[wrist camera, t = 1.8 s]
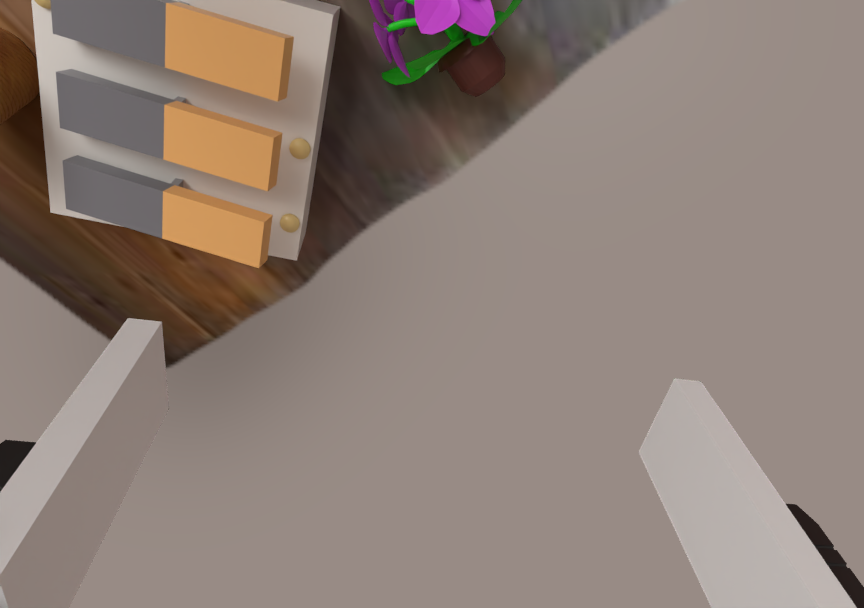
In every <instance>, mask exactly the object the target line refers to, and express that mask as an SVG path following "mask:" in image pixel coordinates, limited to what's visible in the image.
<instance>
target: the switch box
mask: <svg viewBox="0 0 864 608" xmlns="http://www.w3.org/2000/svg"><path fill="white" fill-rule="evenodd" d="M174 1H177V2H180V3H184V4H187V5H190V6H194V7H197V8H200V9H204V10H207V11H210V12H214V13H217V14H220V15H224V16H227V17H230V18H234V19H237V20H240V21H244V22H247V23H250V24H254V25H257V26H260V27H264V28H267V29H270V30H274V31H277V32H280V33H284V34H287V35H290V36H294V42H293V50H292V58H291V67H290V75H289V83H288V92H287V98H285V99H283V100H280V101H278V102H277V101H274V100H271V99H267V98H264V97H261V96H257V95H254V94H251V93H248V92H244V91H241V90H238V89H234V88H231V87H228V86H224V85H221V84H218V83H214V82H211V81H208V80H205V79H201V78H198V77H195V76H191V75H188V74H185V73H181V72H178V71H175V70H171V69H168V68H165V67H162V66H158V65H155V64H152V63H148V62H145V61H142V60H138V59H135V58H132V57H128V56H125V55H122V54H119V53H115V52H112V51H109V50H105V49H102V48H99V47H95V46H92V45H89V44H86V43H82V42H79V41H76V40H72V39H69V38H66V37H62V36H59V35H56V34H53V29H52V15H51V2H50V0H32V11H33V22H34V33H35V45H36V56H37V67H38V78H39V89H40V100H41V111H42V122H43V133H44V144H45V156H46V167H47V178H48V189H49V200H50V211H51V213H55V214H61V215H66V216H71V217H76V218H81V219H86V220H91V221H96V222H101V223H107V224H112V225H117V224H113V223H110V222H107V221H104V220H100V219H97V218H94V217H91V216H88V215H84V214H81V213H78V212H75V211H71V210H68V209H66V201H65V188H64V175H63V162H62V160H65V159H68V158H71V157H73V156H76V155H78V156H82V157H85V158H88V159H91V160H95V161H98V162H101V163H104V164H108V165H111V166H114V167H117V168H121V169H124V170H127V171H131V172H134V173H137V174H140V175H144V176H147V177H150V178H153V179H157V180H160V181H163V182H166V183H170V184H173V185H176V186H179V187H183V188H186V189H189V190H193V191H196V192H199V193H202V194H206V195H209V196H212V197H215V198H219V199H222V200H225V201H228V202H232V203H235V204H238V205H242V206H245V207H248V208H251V209H255V210H258V211H261V212H264V213H268V214H271V215H273V217H272V225H271V233H270V242H269V250H268V255H270V256H275V257H280V258H286V259H291V260H296V261H297V258H298V255H299V252H300V249H301V246H302V243H303V239H304V236H305V233H306V228H307V222H308V215H309V209H310V202H311V196H312V189H313V183H314V176H315V170H316V163H317V157H318V150H319V144H320V137H321V131H322V124H323V118H324V111H325V105H326V98H327V92H328V85H329V79H330V72H331V66H332V59H333V53H334V46H335V40H336V33H337V27H338V20H339V14H340V6H336V5H332V4H329V3H325V2H321V1H318V0H174ZM68 69H74V70H77V71H81V72H84V73H87V74H90V75H94V76H97V77H100V78H104V79H107V80H110V81H114V82H117V83H120V84H123V85H127V86H130V87H133V88H137V89H140V90H143V91H146V92H150V93H153V94H156V95H160V96H163V97H166V98H170V99H173V100H176V101H179V102H183V103H186V104H189V105H193V106H196V107H199V108H202V109H206V110H209V111H212V112H216V113H219V114H222V115H226V116H229V117H232V118H235V119H239V120H242V121H245V122H249V123H252V124H255V125H258V126H262V127H265V128H268V129H272V130H275V131H278V132H282V142H281V150H280V158H279V167H278V175H277V183H276V185H275V186H274V187H273V188H272V189H270V190H269V191H265V190H261V189H258V188H255V187H252V186H248V185H245V184H242V183H239V182H235V181H232V180H229V179H225V178H222V177H219V176H216V175H212V174H209V173H206V172H203V171H199V170H196V169H193V168H189V167H186V166H183V165H180V164H176V163H173V162H170V161H167V160H163V159H160V158H157V157H153V156H150V155H147V154H144V153H140V152H137V151H134V150H131V149H127V148H124V147H121V146H117V145H114V144H111V143H108V142H104V141H101V140H98V139H95V138H91V137H88V136H85V135H81V134H78V133H75V132H72V131H68V130H65V129H62V128H60V122H59V108H58V95H57V82H56V72H57V71H62V70H68ZM117 226H120V225H117ZM122 227H123V226H122Z"/></svg>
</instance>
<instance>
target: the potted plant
mask: <svg viewBox="0 0 864 608" xmlns="http://www.w3.org/2000/svg"><path fill="white" fill-rule="evenodd" d="M404 1H405V2H404ZM521 1H522V0H513V1H512V3H511V4H510V6H509V7H508V8H507V10H506V11H505V12H500V11H497V12H495V13H494V11H493V7H492V4H491V1H490V0H384V5H385V8H386V10H387V11H388V13H390V14H392V15H393V14H394V22H393V21H392V20H391V19H390V18H389V17H388V16H387V15H386V14H385V13H384V12H383V9H382V7H381V4H380V2H379V0H369V2H370V5H371V8H372V10H373V13H374V15H375V17H376V19H377V20H378V22H379V23H380V24H381V25H383V26H386V28H381V27H380V26H379V25H378V24H377V23H376V22H374V24H373V25H374V32H375V34H376V37H377V39H378V41H379V44H380V46H381V48H382V50H383V52H384V54H385V56H386V58H387V60H388V62H389V63H390V64H391V62H392V56H391V52H392V55H393V58H394V60H395V62H396V64H397V66H398V67H396V68H394V69H391V70H389V71H386V72H384V73H382V77H383V79H384V80H386V81H387V82H389V83H391V84H394V85H400V84H406V83H411V82H414V81H415V80H417V79H419V78H420V77H421V76H422V75H424V74H425V73H426V72H427V71H428V70H429V69H431V68H432V67H433V66H434V65H435V64H436V63H437V62H438V68H439V72H443V71H444V70H446V69H447V71H448V72H449V74H450V75H451V77H452V78H453V80H454V81H455V83H456V84H457V85H458V87H459V88H460V90H461V91H462V92H465V93H467V94H470V95H472V96H475V97H477V96H479V95H481V94H483V93H484V92H486V91H487V90H489V89H490V88H491V87H493V86H494V85H495V84H496V83H497V82H499V81H500V80H501V79H502V78H503V76H504V75H505V57H504V56H503V54H502V53H501V51H500V49H499V48H498V46H497V45H496V43H495V42H494V40H493V38H492V37H491V35H493V34H494V31H495V30H496V29H497V28H498V27H499V26H500V25H501V24H502V23H503V22H504V21H505V20H506V19H507V18H508V17H509V16H510V15H511V14H512V13H513V12H514V10H515V9H516V8H517V7H518V5H519V4H520V2H521ZM412 26H418V27H419V29H420V31H421V33H423V34H431V35H433V34H435V33H438V32H440V31H443V30H444V33H445V32H446V34H447V36H448V37H449V39H450V40H451V41H450V42H449V44H448V45H447V46H446V47H445V48H444V49H442V50H434V51H431V52H430V53H428V54H427V55H425V56H423V57H421V58H418V59H416V60H414V61H411V62H409V63H406V64H405V61H404V58H403V56H402V53H401V50H400V48H399V45H398V39H399V36H398V33H399V35H400V36H401V35H403V34H404V32H405V29H406V27H412ZM460 27H462V28H463V29H465V30H467V31H469V32H468V33H466V34H465V35H464V34H463V32H462V30H461V28H460ZM388 40H389V41H388Z"/></svg>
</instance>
